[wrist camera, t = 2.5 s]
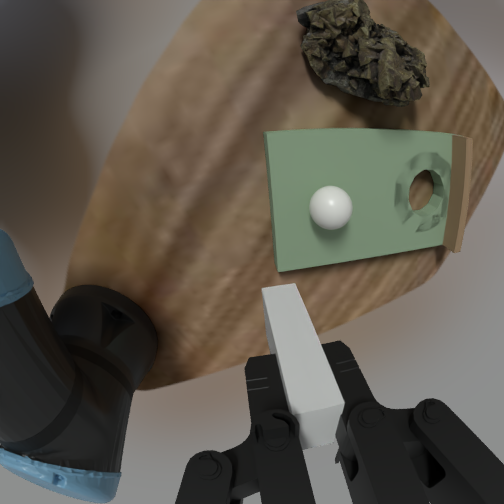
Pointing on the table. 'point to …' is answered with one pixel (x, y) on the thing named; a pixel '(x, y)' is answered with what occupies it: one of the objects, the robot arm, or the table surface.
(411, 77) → the rock
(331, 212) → the ball
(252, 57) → the table surface
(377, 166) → the green
